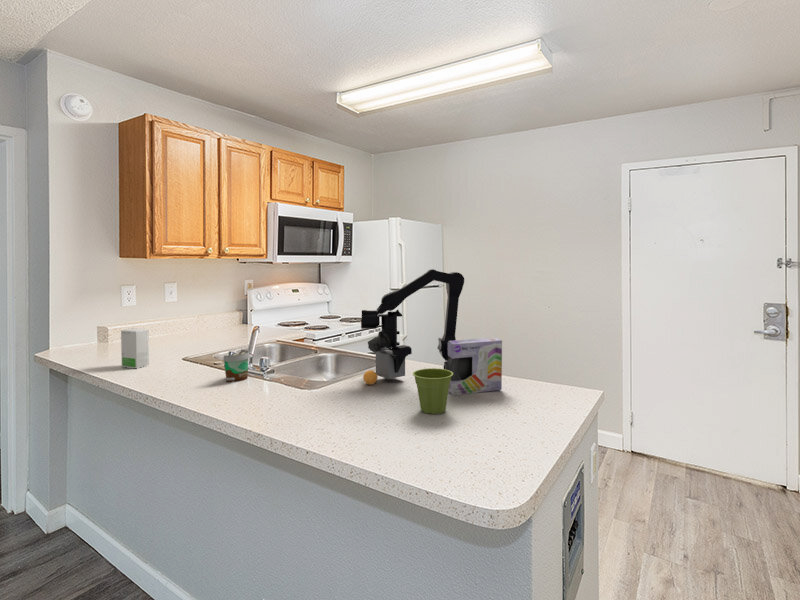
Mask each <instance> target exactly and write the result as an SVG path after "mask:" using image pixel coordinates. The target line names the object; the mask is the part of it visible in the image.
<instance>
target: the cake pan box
mask: <svg viewBox="0 0 800 600" xmlns="http://www.w3.org/2000/svg"><path fill="white" fill-rule="evenodd" d="M502 369H503V340H502V339H500V338H498V337H488V338H487V337H486V338H470V339H469V338H468V339H456V340H455V341H448V365H447V370H449V371H451V372H453V376H451V382H450V384H449V390H448V394H451V395H452V396H456V395H458V396H459V395H468V394H476V393H485V392H493V391H499V390H502V386H503V385H502V384H503V383H502V380H503V379H502V378H503V377H502V375H503V374H502V373H503V370H502Z"/></svg>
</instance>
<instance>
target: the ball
mask: <svg viewBox="0 0 800 600" xmlns="http://www.w3.org/2000/svg"><path fill="white" fill-rule="evenodd" d="M362 377H363V378H362V379H363V382H364V383H365V384H367V385H369V386H370V385H371V386H372V385H374V384H375V383H377V381H378V376H377V374H376V371H374V370H372V369H371V370H370V369H369V370H367V371H365V372H364V373H363V376H362Z"/></svg>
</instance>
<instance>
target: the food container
mask: <svg viewBox="0 0 800 600" xmlns="http://www.w3.org/2000/svg"><path fill="white" fill-rule="evenodd" d="M250 358H251V354H250V351H249V350H247V349H240V351H239V352H237V353H235V352H234V353H232V354H230V355H223V357H222V359H223V360H222V361H223V363H224V371H225V380H226V383H238V382H244V381H245V380H248V377H249V375H248V372H249V359H250Z"/></svg>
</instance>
